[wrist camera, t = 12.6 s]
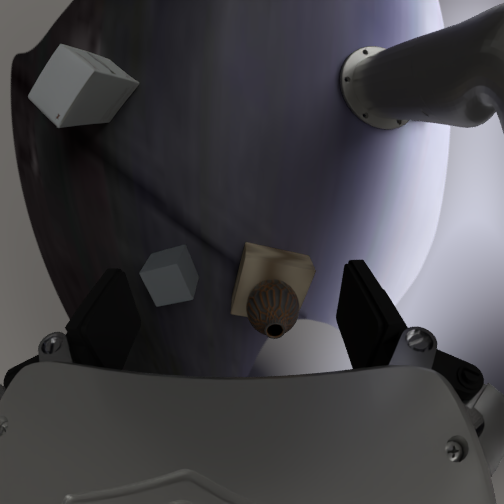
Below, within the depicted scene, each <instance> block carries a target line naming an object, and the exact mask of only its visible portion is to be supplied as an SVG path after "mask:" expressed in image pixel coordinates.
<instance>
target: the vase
mask: <svg viewBox="0 0 504 504" xmlns="http://www.w3.org/2000/svg"><path fill="white" fill-rule="evenodd" d="M246 311H247V316H248V319H249V321H250V323H251V324H252V326H253V327H254V328H255V329H256V330H257V331H258V332H260V333H262V334H264V335H266V336H268V337H269V338H274V339H275V338H280V337H281V336H283V335H284V333H286V332H287V331H289V330H290V329H291V328H292V327H293V326H294V324H295V323H296V321H297V318H298V315H299V301H298V297H297V295H296V293H295V291H294V290H293V289H292V287H291V286H289V285H288V284H287V283H285V282H283V281H281V280H277V279H268V280H264V281H262V282H260V283H258V284H257V285H256V286H255V287H254V288H253V289H252V290H251V292H250V294H249V296H248V299H247V304H246Z"/></svg>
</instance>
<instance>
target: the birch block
mask: <svg viewBox="0 0 504 504" xmlns="http://www.w3.org/2000/svg"><path fill="white" fill-rule="evenodd" d="M315 272H316V270H315V268H314V266H313V263H312V261H311V259H310V257H309V255H304V254H299V253H295V252H290V251H285V250H281V249H276V248H271V247H266V246H262V245H257V244H252V243H247V242H245V246H244V250H243V254H242V258H241V262H240V266H239V270H238V274H237V278H236V282H235V286H234V290H233V294H232V303H231V314H233V315H239V316H245V317H248V316H247V311H246V304H247V299H248V296H249V294H250V292H251V290H252V289H253V288H254V287H255V286H256V285H257V284H258V283H260V282H262V281H264V280H268V279H277V280H281V281H283V282H285V283H287V284H288V285H289V286H291V287H292V289H293V290H294V291H295V293H296V295H297V297H298V301H299V310H300V308H301V306H302V303H303V301H304V299H305V296H306V294H307V291H308V289H309V287H310V284H311V282H312V279H313V277H314V274H315Z"/></svg>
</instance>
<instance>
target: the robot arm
mask: <svg viewBox="0 0 504 504" xmlns="http://www.w3.org/2000/svg"><path fill="white" fill-rule="evenodd" d="M363 52H364V54H363ZM344 79H346V80H347V82H346V81H345V80H344ZM340 87H341V91H342V94H343V98H344V100H345V101H346V103H347V105H348V107H349V108H350V109H351V111H352V112H353V113H354V114H355V115H356V116H357V117H358V118H359V119H360V120H362V121H363V122H364V123H366V124H368V125H370V126H372V127H376V128H379V129H395V128H399V127H401V126H403V125H405V124H406V123H407V122H409V121H410V120H411V121H421V122H430V123H438V124H445V125H451V126H458V127H466V128H468V127H476V126H478V125H481V124H483V123H485V122H486V121H487V120H488V119H490V118H491V117H492V116H493V114H494V113H495V112H497V115H498V117H499V120H500V123H501V126H502V130H503V133H504V3H503V4H500V5H497V6H495V7H493V8H491V9H488V10H486V11H485V12H482V13H480V14H479V15H476V16H474V17H472V18H470V19H468V20H466V21H464V22H461V23H459V24H456V25H453V26H450V27H447V28H444V29H441V30H438V31H435V32H432V33H429V34H426V35H423V36H420V37H417V38H414V39H411V40H409V41H406V42H403V43H401V44H398V45H395V46H393V47H390V48H388V49H385V48H382V47H376V46H367V47H363V48H360V49H358V50H356V51H354V52H353V53H351V54H350V55H349V56H348V57H347V58H346V60H345V61H344V63H343V65H342V68H341V72H340ZM363 114H364V115H365V116H364V117H363ZM336 320H337V324H338V326H339V329H340V332H341V335H342V338H343V341H344V343H345V347H346V350H347V352H348V355H349V358H350V361H351V365H352V368H353V369H350V370H342V371H334V372H324V373H313V374H301V375H288V376H268V377H196V376H177V375H163V374H151V373H141V372H132V371H124V370H122V369H123V366H124V364H125V361H126V359H127V357H128V354H129V352H130V349H131V347H132V345H133V342H134V340H135V337H136V335H137V333H138V330H139V328H140V325H141V319H140V316H139V313H138V311H137V308H136V305H135V302H134V299H133V296H132V293H131V290H130V287H129V284H128V280H127V277H126V274H125V272H122V270H121V269H119V268H117V269H107V270H106V272H105V273H104V274H103V276H102V277H101V278H100V279H99V281H98V282H97V283H96V285H95V286H94V287H93V289H92V290H91V291H90V293H89V294H88V295H87V297H86V298H85V300H84V301H83V302H82V304H81V305H80V307H79V308H78V309H77V311H76V312H75V314H74V315H73V317H72V318H71V319H70V321H69V322H68V324H67V325H66V327H65V328H66V330H67V334H66V335H65V334H63V333H61V332H54V333H51V334H49V335H47V336H46V337H45V338H43V340H42V341H41V342H40V344H39V348H38V351H39V355H37V356H35V357H33V358H31V359H29V360H27V361H25V362H23V363H21V364H19V365H17V366H15V367H13V368H11V369H10V370H8V372H7V373H6V375H5V378H4V386H2V385H1V384H0V504H496V499H495V494H494V489H493V485H492V480H491V477H492V475H493V473H494V472H495V470H496V468H497V467H498V465H499V463H500V461H501V460H502V458H503V456H504V395H503V394H502V393H501V392H499V391H498V390H497V389H495V388H494V387H493V386H492V385H490V384H489V383H488V384H487V385H485V384H484V378H483V375H482V373H481V371H480V370H479V369H478V368H477V367H476V366H474V365H472V364H470V363H468V362H466V361H463V360H461V359H459V358H456V357H454V356H452V355H449V354H447V353H445V352H442V351H440V350H438V349H437V341H436V338H435V336H434V335H433V334H432V333H431V332H430V331H428V330H426V329H424V328H421V327H410V328H408V327H407V326H406V324H405V322H404V321H403V319H402V318H401V316H400V314H399V313H398V311H397V309H396V307H395V306H394V304H393V303H392V301H391V299H390V298H389V296H388V295H387V293H386V292H385V290H384V289H382V287H381V286H380V284H379V283H378V281H377V280H376V278H375V277H374V275H373V274H372V272H371V271H370V269H369V268H368V266H367V265H366V263H365V262H364V260H350V261H349V263H348V264H345V266H344V271H343V278H342V284H341V291H340V297H339V302H338V308H337V313H336Z"/></svg>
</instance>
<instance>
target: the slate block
mask: <svg viewBox="0 0 504 504" xmlns="http://www.w3.org/2000/svg"><path fill="white" fill-rule="evenodd" d="M139 274H140V276H141V278H142V280H143V282H144V284H145V286H146V288H147V289H148V291H149V293H150V295H151V297H152V299H153V301H154V303H155V305H156V306H157V307H158V306H163V305H168V304H173V303H178V302H183V301H188V300H193V298H194V294H195V290H196V287H197V283H198V279H199V276H198V274H197V271H196V269H195V266H194V264H193V262H192V259H191V257H190V254H189V252H188V249H187V247H186V244H185V245H181V246H178V247H174V248H170V249H167V250H163V251H159V252H156V253H152V254H151V255H150V257H149V258H148V260H147V261H146V263H145V265H144V266H143V268H142V270H141V271H140V273H139Z"/></svg>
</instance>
